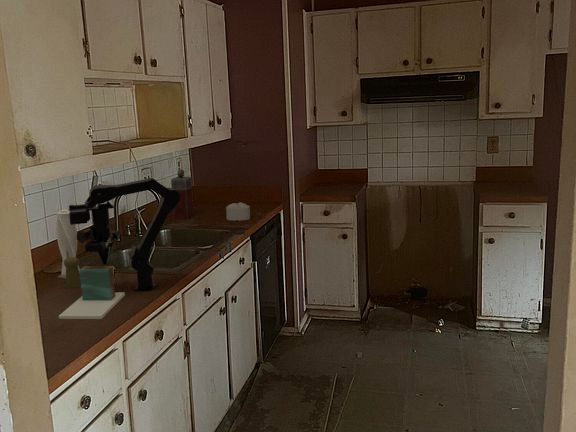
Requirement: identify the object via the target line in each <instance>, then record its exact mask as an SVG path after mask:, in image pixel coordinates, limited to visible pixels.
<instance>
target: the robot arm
mask: <svg viewBox="0 0 576 432" xmlns="http://www.w3.org/2000/svg"><path fill="white" fill-rule="evenodd" d="M146 191H151V192H152V191H153V192H154V193H156V194H158V195H159V196H160V197H159V199H158V200H159V201H158V206H157V209H156V211H155V213H154V216H153V218H152V219H151V221H150V224H149V225H148V227H147V229H146V231H145V233H144V235H143V236H142V238H141V240H140V242H139V243H138V244H137V245H133V244H132V247H131V249H130V252H129V253H128V262H129V265H130V266H131V268H132V269H133V270H135V271H136V272H135V273H136V275H135V276H136V286H135V288H133V290H134V291H152V290H153V289H154V288H155V287H156V286H157V282H154V279H153V278H154V277H153V275H154V274H153V273H154V270H155V269H154V267H153V264H152V263H151V262H150V261H149V259H150V256H151V255H150V254H151V250H152V247H153V245H154V243H155V241H156V239H157V238H158V235H159V233H160V232H161V230H162V228H163V225H164V223H165V222H166V220H167V218H168V216H169V215H170V213H172V212H173V209H174V208H175V207H176V206H177V204H178V203H179V201H180V198H181V197H180V194H179V193H178V192H177V191H176V190H174V189H173V188H171V187H166V186H164V185H163V184H161V183H160V182H158V180H156V179H155V178H153V177H148V178H145V179H140V180H135V181H130V182H125V183H120V184H99V185H98V184H95V185H93V186H91V188H90V189H89V195H88V197H87V199H86V200H85V202H84V204H69V205H68V211H69V219H70V225H82V224H84V225H85V224H87V223H88V222H89V221H91V219H92V225H90V228H89V229H87V230H81V231H77V236H76V237H77V242H79V243H80V244H83V243H85V242H86V243H85V245H84V251H85V252H90V253H91V252H95V253H96V252H97V253H98V255H99V257H100V259H101V262H102V264H103V265H104V266H106V265H108V262H109V260H110V258H111V257H110V256H111V254H112V252H113V249H114V247H115V245H116V243H115V242H112V241H111V240H112V239H115V240H116V241H117V240H120V239H121V233H120V232H119V231H118V230H111V227H112V226H113V223H112V222H110V221H111V220H110V213H109V209H114V208H115V206H114V205H113V204H112V203H111V201H112V200H113V199H116V198H118V197H122V196H126V195H132V194H137V193H141V192H146ZM90 211H91V212H90ZM88 240H89V242H87V241H88Z"/></svg>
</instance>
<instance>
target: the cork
mask: <svg viewBox="0 0 576 432" xmlns="http://www.w3.org/2000/svg"><path fill="white" fill-rule="evenodd" d="M79 263H80V260H79V259H78V257H69V258H66V259H65V260H64V265H65V267H66V279H65V289H68V290H69V289H71V290H72V289H79V288H81V279H80V273H79V269H78V265H79Z"/></svg>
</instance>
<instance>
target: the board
mask: <svg viewBox="0 0 576 432" xmlns="http://www.w3.org/2000/svg"><path fill="white" fill-rule="evenodd" d="M125 295H126V293H125V292H124V291H123V292H122V291H121V292H120V291H119V292H118V291H117V292H116V291H115V297H114V298H113V299H112V300H83V299H82V296H80V297H79V298H78V299H76V300H75V301H74V303H72V304H70V306H68V307H67V308H66V309H65V310H64V311H63V312H62V313H60V314H59V315H58V320H102V319H104V317H105V316H106V315H107V314H108V313H109V312H111V310H112V309H113V308H114V307H115V305H116V306H117V304H118V303H119V302H120V301H121V300H122V299H123V298H124V297H125Z"/></svg>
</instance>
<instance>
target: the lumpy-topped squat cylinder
mask: <svg viewBox="0 0 576 432" xmlns="http://www.w3.org/2000/svg"><path fill="white" fill-rule="evenodd" d="M250 209H251V207H250V205H247V204H246V203H243V202H237V203H235V202H232V203H230V204H228V205H227V206H226V207H225V210H226V220H227V221H236V220H238V221H247V220H250V219H251V210H250ZM238 221H237V222H238Z"/></svg>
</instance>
